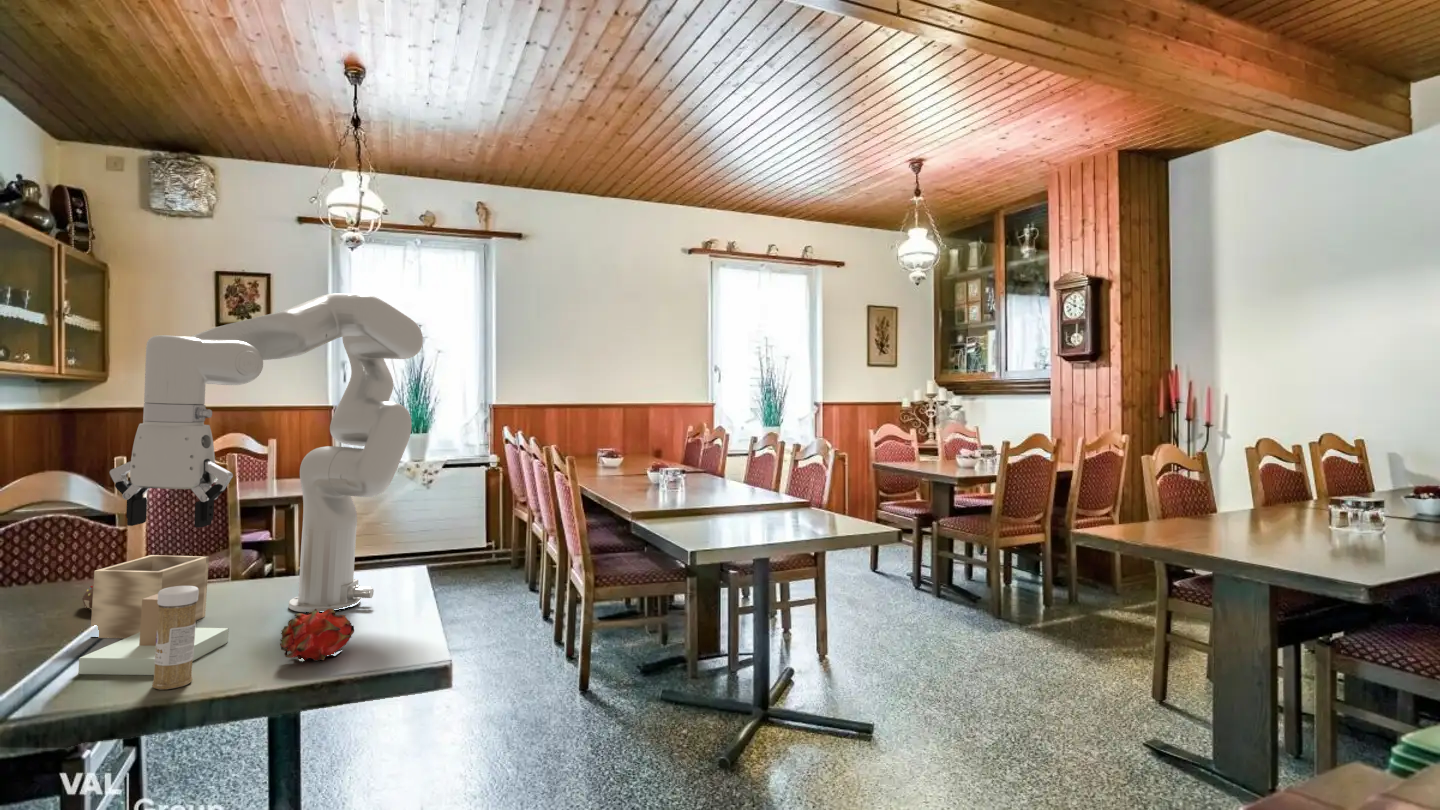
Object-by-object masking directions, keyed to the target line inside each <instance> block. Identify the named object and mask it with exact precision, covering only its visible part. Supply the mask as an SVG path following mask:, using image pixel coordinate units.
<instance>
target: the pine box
mask: <svg viewBox="0 0 1440 810" xmlns="http://www.w3.org/2000/svg"><path fill="white" fill-rule="evenodd" d="M209 562H210V556H201V555H200V556H199V555H198V556H197V555H196V556H195V555H194V556H193V555H170V554H169V555H167V554H165V555H162V554H160V555H159V554H158V555H157V554H150V555H145V556H143V557H138V558H136V559H132V560H131V559H130V560H128V561H124V562H121V563H118V564H113V565H110V566H106V567H103V568H100V569H96V570H94V574H93V584H94V586H93V585H92V586H93V601H92V610H91V618H90V619H91V620H90V627H91V626H94V625H97V626H98V630H99V637H98V638H97V639H125V638H128V637H130V636H132V635H135V634H137V633H139V632H140V627H141V611H142V599H144V598H147V597H150V596H153V595H155V594H158V592H159V591H160V590H162V589H164V588H168V587H174V586H195V587H197V588H198V589H199V593H198V601H196V602H197V604H196V618H195V622H197V621H199V620H200V619H203V618H205V617H206V609H207V594H208V581H209V580H208V579H209V578H208V577H209V564H210V563H209Z"/></svg>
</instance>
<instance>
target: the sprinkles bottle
mask: <svg viewBox="0 0 1440 810" xmlns="http://www.w3.org/2000/svg"><path fill="white" fill-rule="evenodd" d="M198 593H199V589H198V588H197V587H195V586H174V587H168V588H164V589H162V590H160V591H159V592H158V602H157V603H158V606H159V615H158V628H157V635H156V649H155V669H154V675H153V681H152V685H151V686H152V687H153V689H155V690H172V689H177V688H181V687H184V686H187V685H189V684H190V683H191V682H192V681H193V676H192V671H193V661H192V660H193V654H194V641H195V628H196V622H197V621H195V618H196V604H197V602H196V601H198Z"/></svg>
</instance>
